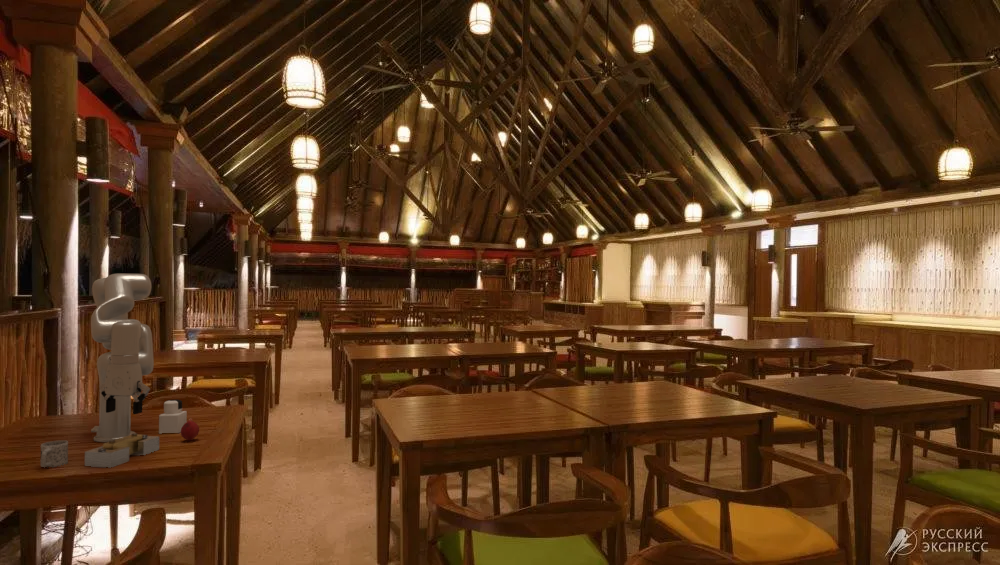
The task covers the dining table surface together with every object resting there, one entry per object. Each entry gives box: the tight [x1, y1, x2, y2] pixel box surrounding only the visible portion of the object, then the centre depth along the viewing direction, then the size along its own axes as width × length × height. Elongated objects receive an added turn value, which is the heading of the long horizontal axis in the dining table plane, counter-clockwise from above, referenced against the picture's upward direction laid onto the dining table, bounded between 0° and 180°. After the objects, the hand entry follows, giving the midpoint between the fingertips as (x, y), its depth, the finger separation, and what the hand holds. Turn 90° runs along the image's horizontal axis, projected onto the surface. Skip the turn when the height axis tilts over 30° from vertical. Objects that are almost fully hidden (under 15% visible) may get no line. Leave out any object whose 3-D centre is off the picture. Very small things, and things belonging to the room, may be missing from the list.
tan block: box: [102, 432, 143, 454], centre depth 183 cm, size 4×12×6 cm, turn 172°
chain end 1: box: [84, 445, 130, 469], centre depth 177 cm, size 9×7×5 cm
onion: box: [180, 418, 200, 442], centre depth 204 cm, size 6×6×8 cm
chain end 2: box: [129, 434, 160, 456], centre depth 189 cm, size 9×7×5 cm
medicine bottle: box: [158, 399, 188, 435], centre depth 218 cm, size 7×7×12 cm
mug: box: [40, 439, 69, 469], centre depth 174 cm, size 10×7×7 cm
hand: (124, 412), depth 184 cm, fingers open, 9 cm apart
